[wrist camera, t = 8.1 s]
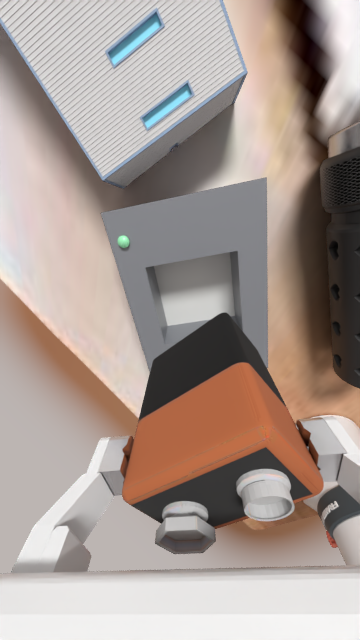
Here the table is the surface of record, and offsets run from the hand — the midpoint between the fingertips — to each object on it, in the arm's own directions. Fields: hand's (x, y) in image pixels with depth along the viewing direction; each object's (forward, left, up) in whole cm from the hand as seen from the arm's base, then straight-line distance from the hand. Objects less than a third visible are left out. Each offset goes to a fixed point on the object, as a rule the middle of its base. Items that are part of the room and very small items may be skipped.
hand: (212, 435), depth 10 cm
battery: (0, 0, -7) cm, 7 cm away
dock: (0, 0, -23) cm, 23 cm away
